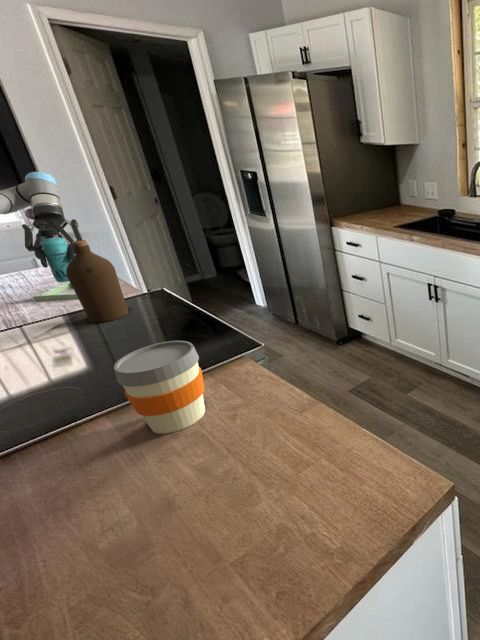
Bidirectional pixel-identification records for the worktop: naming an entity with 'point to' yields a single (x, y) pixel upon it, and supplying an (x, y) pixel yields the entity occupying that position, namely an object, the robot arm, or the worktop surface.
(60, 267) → the beverage bottle
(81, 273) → the brown jug bottle
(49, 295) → the back pad
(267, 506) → the worktop surface
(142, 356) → the reusable coffee cup
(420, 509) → the worktop surface
